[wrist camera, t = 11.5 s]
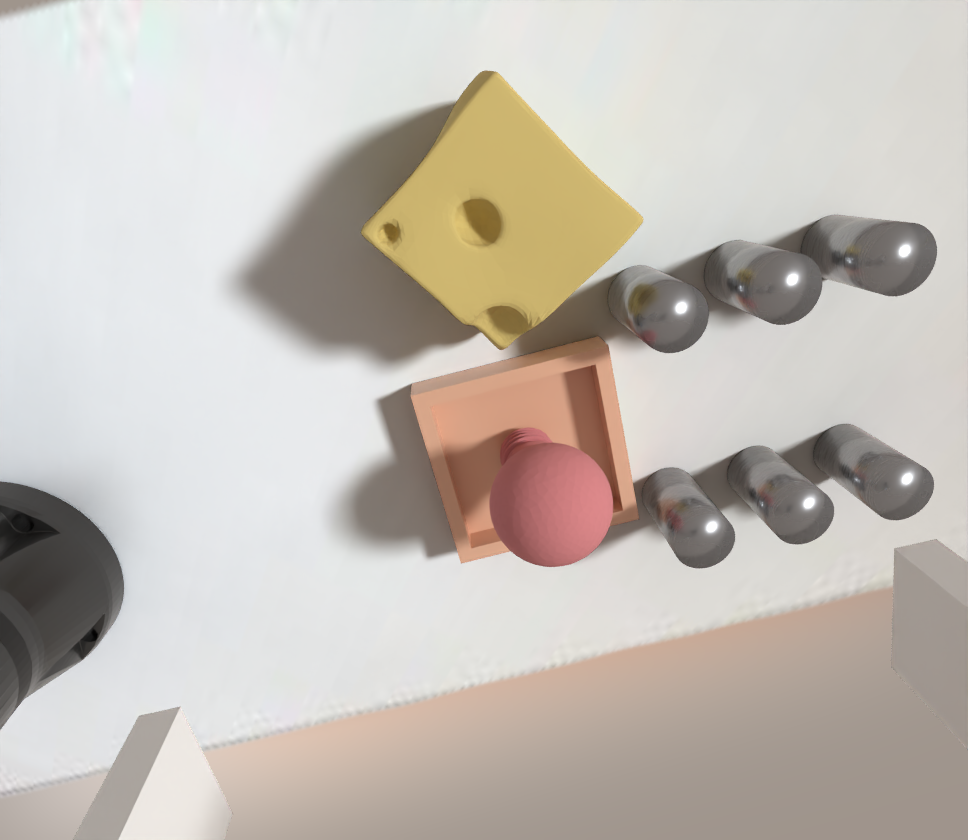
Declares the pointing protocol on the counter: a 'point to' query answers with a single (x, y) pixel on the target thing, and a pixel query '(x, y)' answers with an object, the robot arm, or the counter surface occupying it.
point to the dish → (515, 405)
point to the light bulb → (549, 500)
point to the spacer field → (780, 300)
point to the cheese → (500, 216)
